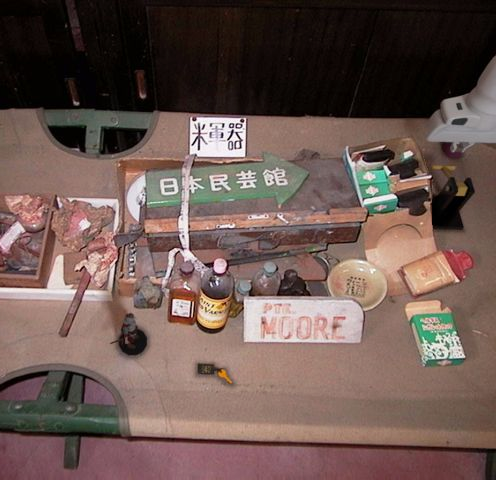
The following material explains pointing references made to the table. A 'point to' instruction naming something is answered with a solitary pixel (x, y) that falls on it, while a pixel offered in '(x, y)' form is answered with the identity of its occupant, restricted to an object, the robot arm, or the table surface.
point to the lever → (445, 169)
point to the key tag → (212, 371)
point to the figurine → (131, 337)
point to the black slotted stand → (450, 205)
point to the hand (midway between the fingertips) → (456, 150)
